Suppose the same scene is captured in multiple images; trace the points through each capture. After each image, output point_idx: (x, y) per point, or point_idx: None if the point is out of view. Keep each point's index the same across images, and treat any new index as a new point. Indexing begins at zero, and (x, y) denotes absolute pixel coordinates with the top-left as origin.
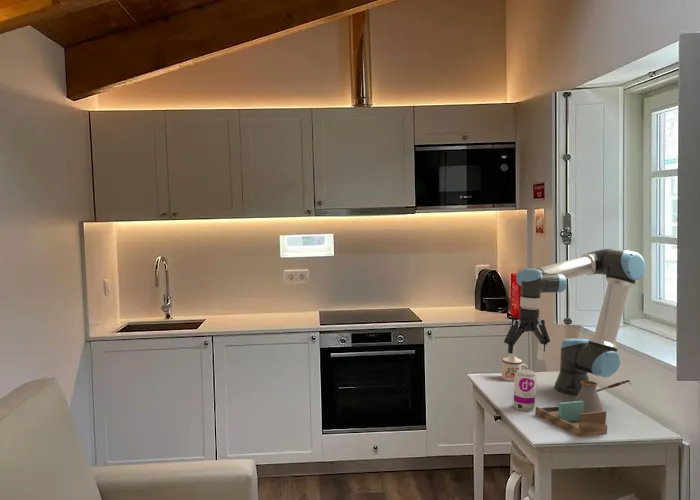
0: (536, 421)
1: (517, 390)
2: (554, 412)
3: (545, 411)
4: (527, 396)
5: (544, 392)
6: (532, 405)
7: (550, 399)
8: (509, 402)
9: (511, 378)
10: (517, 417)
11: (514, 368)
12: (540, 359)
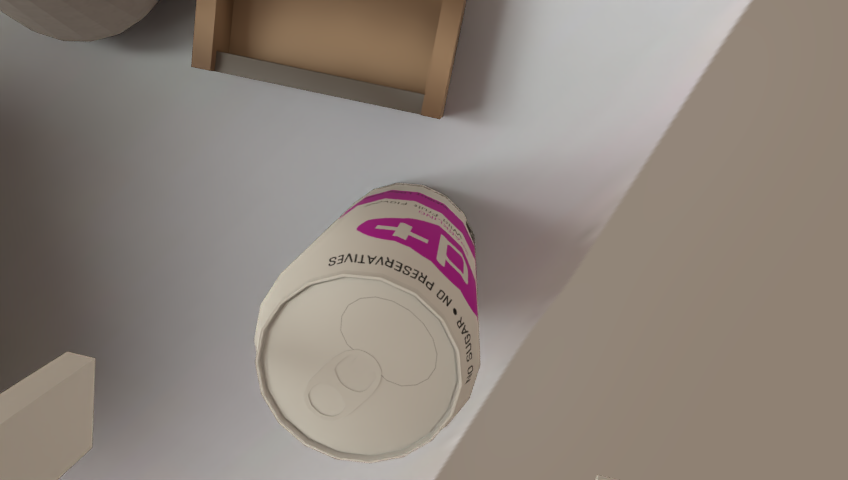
0: (550, 9)
1: (477, 299)
2: (318, 46)
3: (454, 5)
4: (438, 214)
5: None
6: (396, 187)
7: (106, 285)
8: None
9: None
10: (600, 136)
11: None
12: (84, 386)
